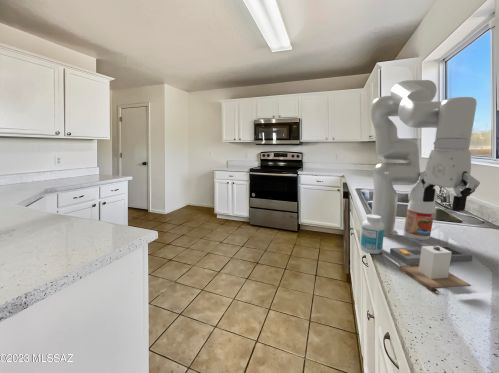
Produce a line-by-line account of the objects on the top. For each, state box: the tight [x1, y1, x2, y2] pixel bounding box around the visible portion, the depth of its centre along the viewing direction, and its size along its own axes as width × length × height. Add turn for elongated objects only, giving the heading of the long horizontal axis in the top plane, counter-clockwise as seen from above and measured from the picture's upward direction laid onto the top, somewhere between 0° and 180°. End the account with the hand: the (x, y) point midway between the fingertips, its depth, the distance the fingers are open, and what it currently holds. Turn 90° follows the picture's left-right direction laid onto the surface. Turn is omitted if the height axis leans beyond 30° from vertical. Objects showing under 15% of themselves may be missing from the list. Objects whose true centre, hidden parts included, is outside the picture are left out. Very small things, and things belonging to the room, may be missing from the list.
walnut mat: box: [399, 264, 471, 292], centre depth 74 cm, size 12×12×1 cm
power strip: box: [389, 244, 474, 265], centre depth 85 cm, size 8×24×4 cm, turn 96°
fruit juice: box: [403, 171, 438, 241], centre depth 102 cm, size 9×9×28 cm
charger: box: [418, 245, 452, 279], centre depth 73 cm, size 4×6×9 cm
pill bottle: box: [359, 214, 385, 255], centre depth 91 cm, size 8×7×14 cm
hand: (442, 205), depth 70 cm, fingers open, 9 cm apart
